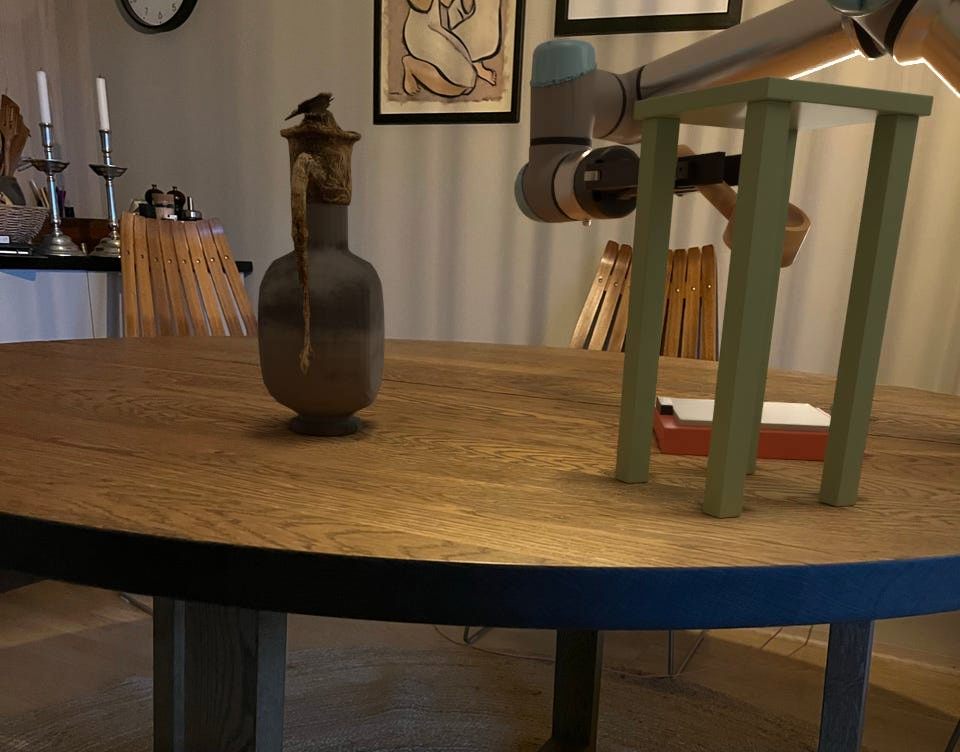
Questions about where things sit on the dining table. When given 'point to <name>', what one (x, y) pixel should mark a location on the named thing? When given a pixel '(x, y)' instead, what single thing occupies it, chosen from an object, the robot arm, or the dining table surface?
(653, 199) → the shelf stand
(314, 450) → the dining table surface
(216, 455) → the dining table surface
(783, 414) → the scale
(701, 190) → the scoop
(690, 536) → the dining table surface
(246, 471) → the dining table surface
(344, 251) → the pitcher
